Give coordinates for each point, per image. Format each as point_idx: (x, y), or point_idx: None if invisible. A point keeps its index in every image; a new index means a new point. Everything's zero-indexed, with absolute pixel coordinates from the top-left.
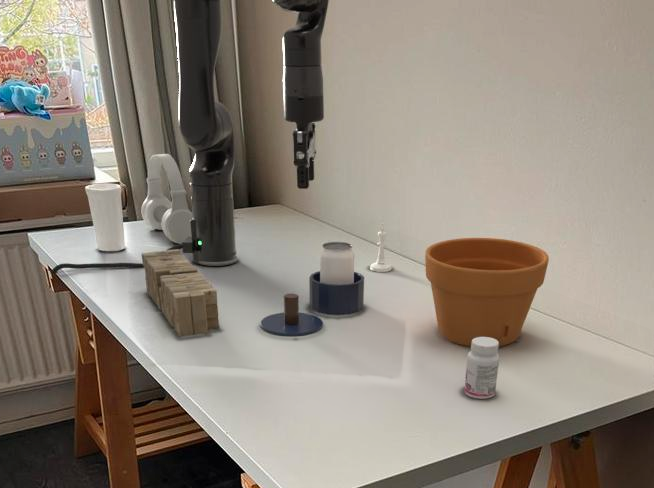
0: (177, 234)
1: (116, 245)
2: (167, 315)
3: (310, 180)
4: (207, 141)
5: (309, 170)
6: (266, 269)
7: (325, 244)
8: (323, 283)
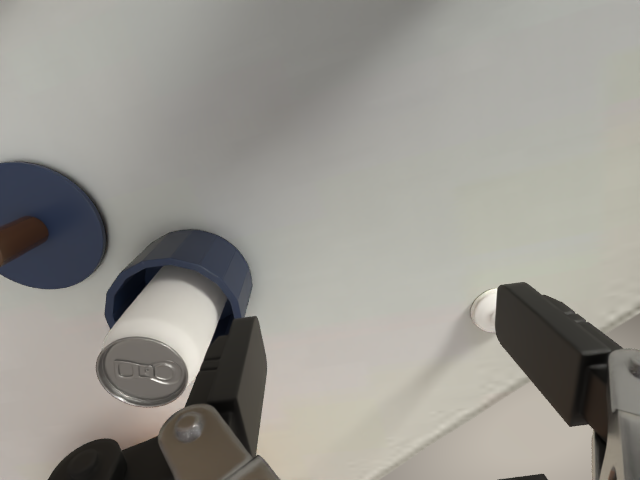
0: None
1: None
2: None
3: (495, 319)
4: None
5: (528, 352)
6: (462, 29)
7: (150, 339)
8: (110, 302)
